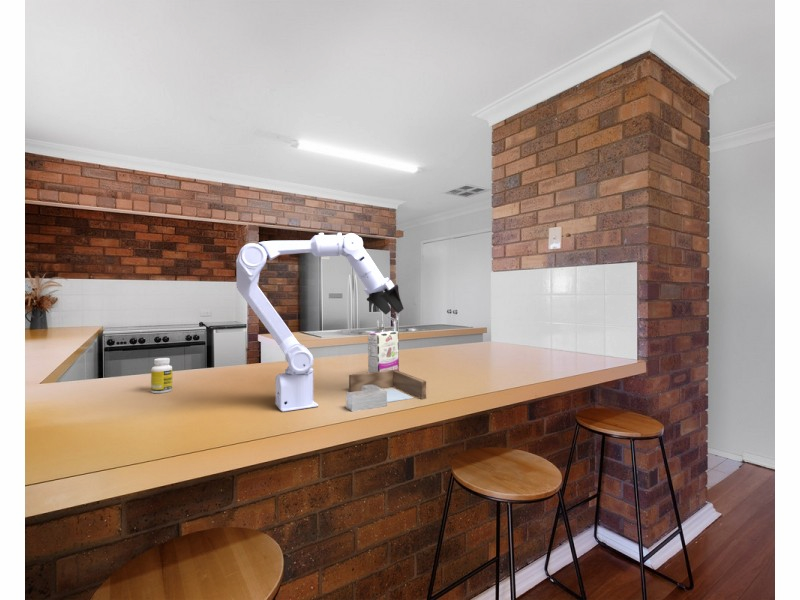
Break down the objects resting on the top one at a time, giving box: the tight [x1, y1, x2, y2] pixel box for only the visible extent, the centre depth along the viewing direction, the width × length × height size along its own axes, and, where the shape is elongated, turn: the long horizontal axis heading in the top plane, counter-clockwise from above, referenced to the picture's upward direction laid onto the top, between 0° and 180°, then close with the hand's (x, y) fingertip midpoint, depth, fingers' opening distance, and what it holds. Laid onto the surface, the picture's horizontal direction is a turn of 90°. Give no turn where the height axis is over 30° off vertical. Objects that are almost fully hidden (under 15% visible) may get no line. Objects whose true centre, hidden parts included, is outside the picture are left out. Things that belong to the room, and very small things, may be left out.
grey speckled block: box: [345, 384, 388, 413], centre depth 103 cm, size 10×8×4 cm
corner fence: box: [348, 370, 427, 400], centre depth 113 cm, size 16×18×5 cm
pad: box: [384, 387, 414, 403], centre depth 112 cm, size 9×12×1 cm
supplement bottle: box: [150, 357, 173, 394], centre depth 116 cm, size 5×5×10 cm
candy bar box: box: [367, 330, 400, 373], centre depth 132 cm, size 11×5×16 cm, turn 143°
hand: (394, 311), depth 111 cm, fingers open, 7 cm apart
